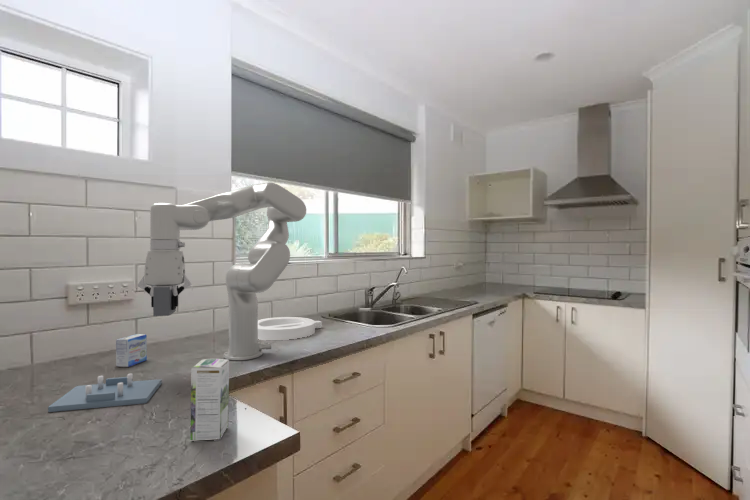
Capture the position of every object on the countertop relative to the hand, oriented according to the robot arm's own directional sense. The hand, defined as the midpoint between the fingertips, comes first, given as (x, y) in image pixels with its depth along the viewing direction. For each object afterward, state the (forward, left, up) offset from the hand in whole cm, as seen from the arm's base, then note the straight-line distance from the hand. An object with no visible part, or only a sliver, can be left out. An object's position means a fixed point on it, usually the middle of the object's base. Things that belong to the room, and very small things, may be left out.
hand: (164, 308), depth 115 cm
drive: (0, 0, -1) cm, 1 cm away
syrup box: (-18, +42, -20) cm, 50 cm away
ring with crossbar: (-35, -49, -20) cm, 63 cm away
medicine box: (+13, -16, -20) cm, 29 cm away
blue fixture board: (+9, +14, -19) cm, 26 cm away
